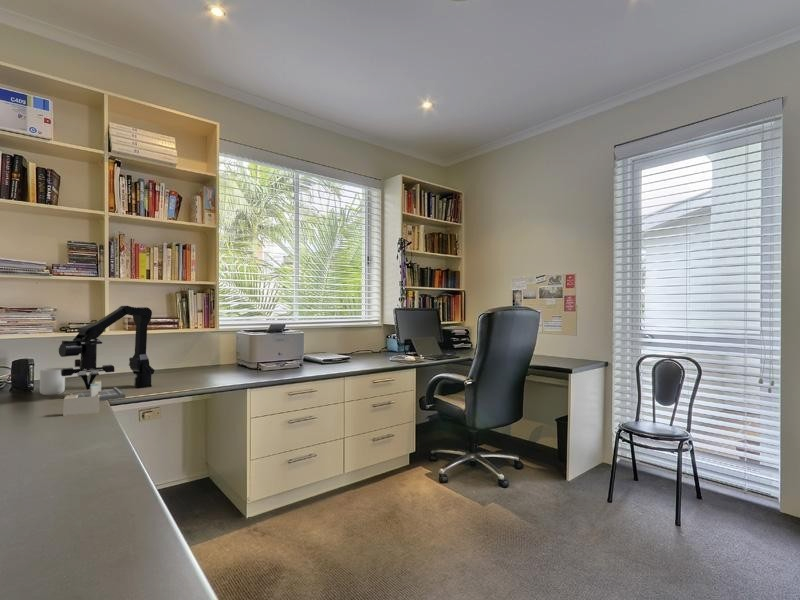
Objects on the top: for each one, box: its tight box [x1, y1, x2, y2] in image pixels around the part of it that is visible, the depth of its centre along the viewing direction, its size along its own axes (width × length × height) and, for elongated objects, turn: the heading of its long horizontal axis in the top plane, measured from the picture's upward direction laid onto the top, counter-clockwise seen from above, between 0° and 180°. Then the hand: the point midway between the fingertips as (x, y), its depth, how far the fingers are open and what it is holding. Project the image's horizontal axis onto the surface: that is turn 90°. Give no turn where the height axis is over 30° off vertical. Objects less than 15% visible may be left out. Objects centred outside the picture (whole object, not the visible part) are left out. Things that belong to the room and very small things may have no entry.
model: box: [62, 393, 100, 417], centre depth 155 cm, size 3×11×8 cm, turn 118°
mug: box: [39, 367, 66, 396], centre depth 190 cm, size 12×9×11 cm
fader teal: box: [89, 382, 98, 396], centre depth 177 cm, size 2×4×5 cm, turn 43°
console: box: [65, 387, 126, 402], centre depth 181 cm, size 19×18×2 cm
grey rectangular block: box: [93, 379, 102, 392], centre depth 186 cm, size 2×4×5 cm, turn 43°
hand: (87, 389), depth 184 cm, fingers closed
